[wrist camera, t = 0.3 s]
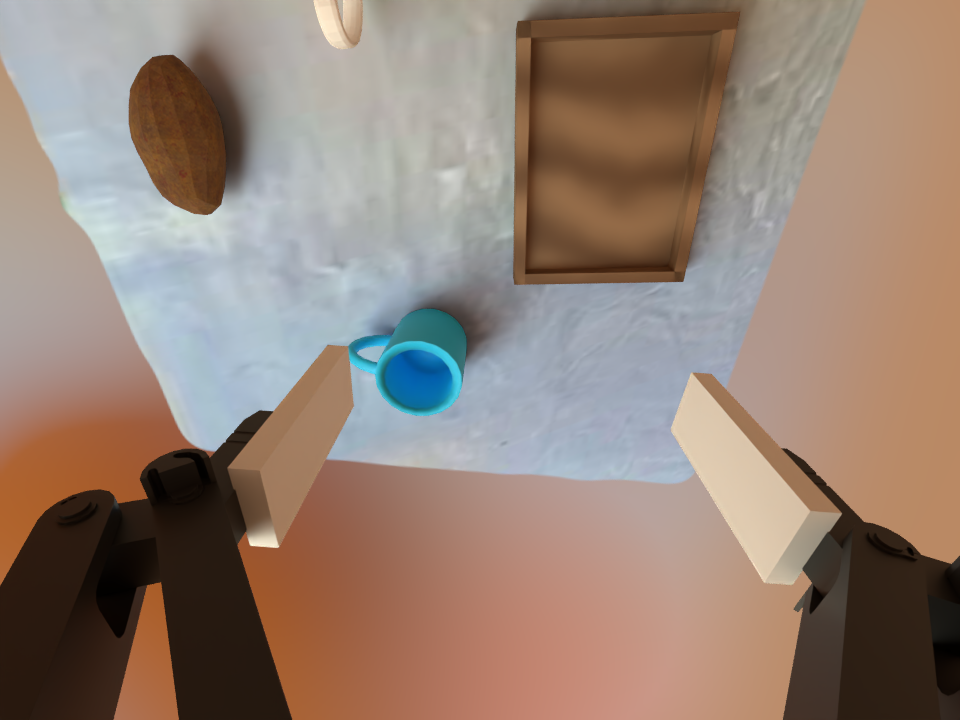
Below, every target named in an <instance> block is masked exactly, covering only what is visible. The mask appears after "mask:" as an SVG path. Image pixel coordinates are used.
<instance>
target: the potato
mask: <svg viewBox="0 0 960 720" xmlns="http://www.w3.org/2000/svg"><path fill="white" fill-rule="evenodd" d="M129 127H130V133H131V138H132V140H133V143H134V145H135V147H136V150H137V152H138V154H139V156H140V158H141V159H142V161H143V163H144V165H145V167H146V169H147V171H148V173H149V175H150V177H151V179H152V181H153V183H154V185H155V186H156V188H157V189H158V190H159V192H160V193H161V195H162V196H163V197H164V198H166V199H167V200H168V201H170V202H171V203H172V204H174V205H175V206H178V207H180V208H182V209H184V210H187V211H189V212H191V213H194V214H202V215H208V214H212V213H213V212H214V211H215V210H216V209H217V208H218V207H219V206H220V205H221V202H222V197H223V193H224V188H225V176H226V151H225V143H224V135H223V128H222V124H221V120H220V117H219V113H218V111H217V109H216V107H215V105H214V103H213V101H212V99H211V97H210V96H209V94H208V93H207V91H206V89H205V88H204V86H203V85H202V84H201V82H200V81H199V80H198V78H197V77H196V76H195V75H194V73H193V72H192V71H191V70H190V69H189V68H188V67H187V66H186V65H185V64H184V63H183V62H182V61H181V60H180V59H178V58H177V57H175V56H174V55H162V56H156V57H152V58H151V59H150V60H149V61H148V62H147V63H146V64H145V65H144V66H142V67H141V69H140V71H139V72H138V74H137V76H136V78H135V80H134V82H133V84H132V86H131V88H130V98H129Z"/></svg>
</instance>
